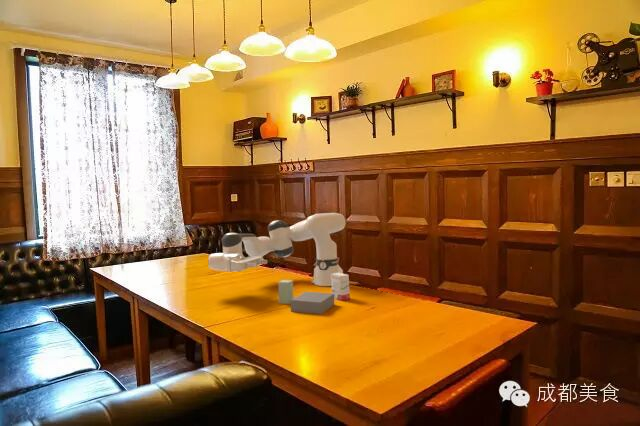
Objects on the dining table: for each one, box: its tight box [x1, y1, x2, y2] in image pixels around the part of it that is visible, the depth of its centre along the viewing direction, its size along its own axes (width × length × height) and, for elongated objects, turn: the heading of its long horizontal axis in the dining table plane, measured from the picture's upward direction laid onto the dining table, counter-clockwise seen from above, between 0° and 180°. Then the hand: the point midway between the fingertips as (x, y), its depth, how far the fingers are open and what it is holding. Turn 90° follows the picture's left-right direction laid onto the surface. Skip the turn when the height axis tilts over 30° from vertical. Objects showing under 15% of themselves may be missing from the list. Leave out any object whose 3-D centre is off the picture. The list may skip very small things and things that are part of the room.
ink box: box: [331, 272, 351, 301], centre depth 212 cm, size 9×5×12 cm, turn 33°
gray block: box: [290, 291, 335, 315], centre depth 197 cm, size 16×14×5 cm
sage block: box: [277, 279, 294, 305], centre depth 208 cm, size 5×5×10 cm
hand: (261, 263), depth 211 cm, fingers open, 8 cm apart
